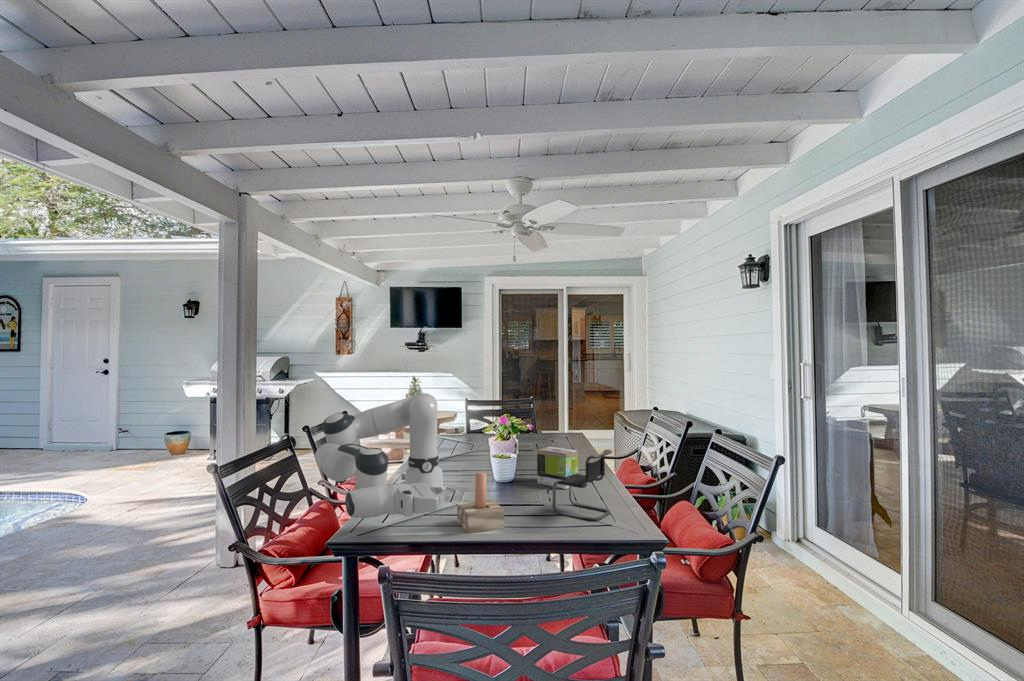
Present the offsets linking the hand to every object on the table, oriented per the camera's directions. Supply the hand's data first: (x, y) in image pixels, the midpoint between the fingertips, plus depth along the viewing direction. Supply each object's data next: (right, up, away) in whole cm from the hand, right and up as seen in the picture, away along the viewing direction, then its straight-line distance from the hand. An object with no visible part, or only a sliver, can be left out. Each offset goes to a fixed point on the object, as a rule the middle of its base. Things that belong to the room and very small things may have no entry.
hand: (445, 493), depth 164 cm
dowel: (+11, -10, +4) cm, 15 cm away
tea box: (+40, -13, +55) cm, 69 cm away
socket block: (+11, -11, +4) cm, 16 cm away
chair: (+46, -12, +17) cm, 50 cm away
